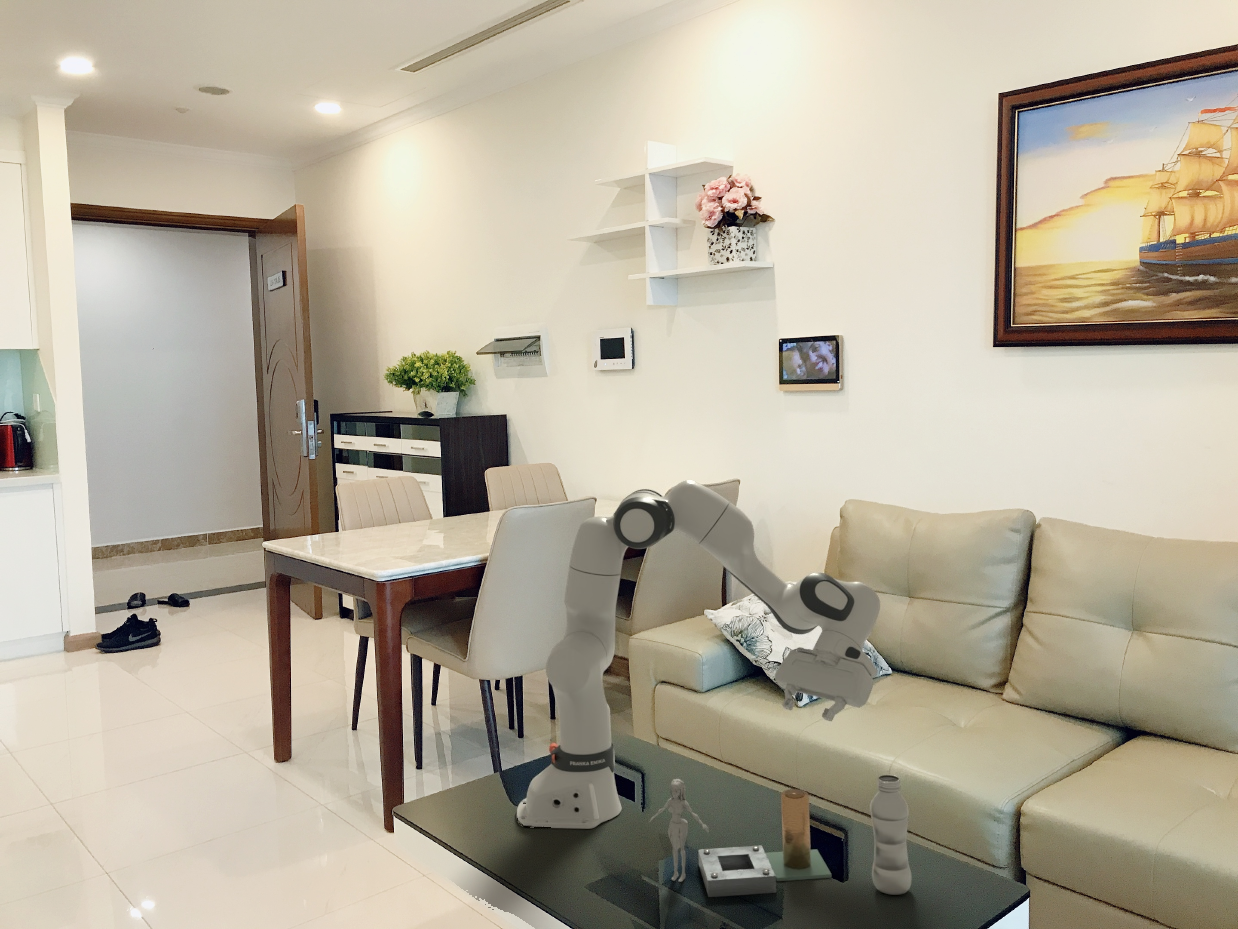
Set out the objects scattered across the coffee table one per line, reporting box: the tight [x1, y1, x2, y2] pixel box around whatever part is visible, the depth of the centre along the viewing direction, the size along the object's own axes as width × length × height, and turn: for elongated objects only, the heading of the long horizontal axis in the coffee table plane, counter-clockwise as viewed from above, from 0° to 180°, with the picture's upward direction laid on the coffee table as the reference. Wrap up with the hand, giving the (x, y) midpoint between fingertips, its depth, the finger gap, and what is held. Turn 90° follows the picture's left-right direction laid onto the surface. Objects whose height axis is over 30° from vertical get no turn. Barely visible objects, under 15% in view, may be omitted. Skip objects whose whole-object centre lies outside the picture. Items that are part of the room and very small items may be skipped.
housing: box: [697, 845, 777, 898], centre depth 175 cm, size 12×12×3 cm
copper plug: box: [780, 788, 811, 870], centre depth 178 cm, size 5×5×13 cm
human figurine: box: [647, 778, 710, 883], centre depth 176 cm, size 12×4×18 cm, turn 63°
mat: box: [765, 848, 832, 882], centre depth 179 cm, size 10×10×1 cm
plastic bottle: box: [869, 774, 913, 896], centre depth 168 cm, size 6×7×20 cm
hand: (806, 713), depth 189 cm, fingers open, 8 cm apart
